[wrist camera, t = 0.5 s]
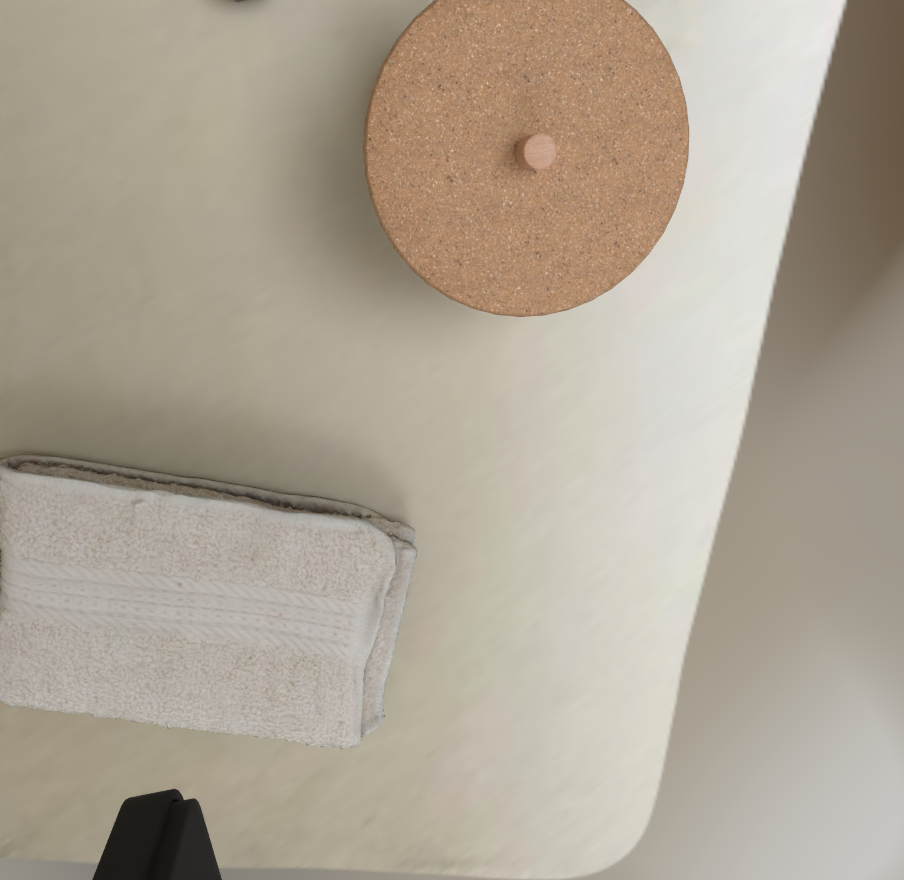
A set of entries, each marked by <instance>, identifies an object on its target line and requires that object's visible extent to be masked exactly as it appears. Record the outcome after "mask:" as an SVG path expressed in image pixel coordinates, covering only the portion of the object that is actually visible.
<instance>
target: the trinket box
mask: <svg viewBox="0 0 904 880" xmlns="http://www.w3.org/2000/svg"><path fill="white" fill-rule="evenodd" d="M363 150H364V163H365V175H366V179H367V184H368V188H369V193H370V197H371V201H372V204H373V206H374V209H375V211H376V214H377V216H378V219H379V221H380V224H381V226H382V228H383V229H384V231H385V233H386V235H387V236H388V238H389V240H390V241H391V243H392V245H393V247H394V248H395V249H396V251H397V252H398V253H399V254H400V256H401V257H402V258H403V259H404V261H405V262H406V263H407V264H408V266H409V267H410V268H411V269H412V270H413V271H414V272H415V273H417V274H418V275H419V276H420V277H421V278H422V279H423V280H424V281H425V282H427V283H428V284H429V285H430V286H432V287H433V288H435V289H436V290H438V291H439V292H441V293H442V294H444V295H445V296H447V297H449V298H450V299H452V300H454V301H457V302H459V303H461V304H464V305H466V306H468V307H470V308H473V309H477V310H480V311H484V312H488V313H492V314H496V315H506V316H516V317H525V316H541V315H548V314H552V313H556V312H561V311H565V310H569V309H571V308H574V307H576V306H579V305H582V304H584V303H587V302H589V301H591V300H593V299H595V298H596V297H598V296H600V295H602V294H603V293H605V292H607V291H608V290H610V289H612V288H613V287H614V286H616V285H617V284H618V283H619V282H621V281H622V280H623V279H624V278H626V277H627V276H628V275H629V274H631V273H632V272H633V271H634V269H635V268H636V267H637V266H638V265H639V264H640V263H641V262H642V261H643V260H644V259H645V258H646V257H647V255H648V254H649V253H650V252H651V250H652V249H653V247H654V246H655V244H656V243H657V241H658V240H659V239H660V237H661V236H662V234H663V233H664V231H665V229H666V227H667V225H668V223H669V221H670V219H671V217H672V215H673V213H674V211H675V208H676V205H677V202H678V199H679V196H680V193H681V190H682V187H683V184H684V178H685V173H686V168H687V162H688V150H689V125H688V115H687V106H686V101H685V97H684V94H683V90H682V86H681V82H680V78H679V76H678V74H677V71H676V69H675V67H674V64H673V62H672V60H671V57H670V55H669V53H668V51H667V50H666V48H665V47H664V45H663V43H662V42H661V40H660V39H659V37H658V36H657V34H656V32H655V31H654V30H653V28H652V27H651V26H650V25H649V24H648V23H647V22H646V21H645V19H644V18H643V17H642V16H641V15H640V14H639V13H638V12H637V10H635V9H634V8H633V7H632V6H630V5H629V4H628V3H627V2H625V1H624V0H435V1H434V2H432V3H431V4H430V5H429V6H428V7H427V8H426V9H424V10H423V11H422V12H421V13H420V14H419V15H418V16H416V17H415V18H414V20H413V21H412V22H411V23H410V24H409V26H408V27H407V28H406V29H405V31H404V32H403V33H402V34H401V35H400V37H399V38H398V39H397V40H396V42H395V44H394V46H393V47H392V49H391V51H390V52H389V54H388V56H387V57H386V59H385V61H384V63H383V64H382V67H381V69H380V72H379V74H378V77H377V79H376V82H375V84H374V87H373V89H372V92H371V97H370V101H369V105H368V110H367V114H366V118H365V131H364V144H363Z"/></svg>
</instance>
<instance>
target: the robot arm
mask: <svg viewBox="0 0 904 880" xmlns="http://www.w3.org/2000/svg"><path fill="white" fill-rule="evenodd" d="M93 880H222V879H221V875H220V872H219V868H218V865H217V862H216V858H215V855H214V851H213V848H212V845H211V841H210V838H209V834H208V831H207V827H206V824H205V821H204V817H203V814H202V810H201V807H200V805H199V802H198V801H197V800H196V799H188V800H184V799H183V797H182V795H181V793H180V792H179V791H178V790H176V789H171V790H166V791H161V792H156V793H151V794H146V795H141V796H136V797H130V798H128V799H126V800H125V801H124V803H123V804H122V806H121V808H120V811H119V813H118V816H117V818H116V821H115V823H114V826H113V829H112V831H111V834H110V836H109V839H108V841H107V844H106V846H105V849H104V852H103V854H102V857H101V859H100V862H99V864H98V867H97V869H96V872H95V874H94V877H93Z"/></svg>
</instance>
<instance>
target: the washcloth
mask: <svg viewBox="0 0 904 880" xmlns="http://www.w3.org/2000/svg"><path fill="white" fill-rule="evenodd" d="M415 538H416V534H415V530H414V529H413V528H412V527H410V526H409V525H403V524H401V523H399V522H390V521H387V519H386V518H383V517H382V516H381V515H380V514H378V513H376V512H374V511H372V510H369V509H367V508H364V507H361V506H357V505H355V504H349V503H346V502H338V501H334V500H329V499H322V498H318V497H309V496H300V495H285V494H281V493H276V492H271V491H266V490H261V489H256V488H252V487H247V486H241V485H231V484H228V483H223V482H217V481H211V480H205V479H200V478H183V477H178V476H172V475H166V474H160V473H153V472H149V471H142V470H137V469H130V468H123V467H117V466H113V465H106V464H101V463H93V462H87V461H81V460H74V459H67V458H60V457H51V456H38V455H17V456H11V457H7V458H4V459H1V460H0V548H1V549H2V558H1V566H0V571H1V578H0V585H1V591H0V701H2V702H4V703H6V704H7V705H8V706H11V707H15V706H17V705H23V706H27V707H29V708H35V709H37V710H39V709H40V710H47V711H54V710H57V711H59V712H63V711H65V712H66V713H67V714H73V713H74V714H76V713H91V714H92V715H93V717H107V718H115V719H125V720H130V721H132V722H143V723H151V724H155V725H161V726H164V727H167V728H169V729H170V728H171V726H173V727H183V728H191V729H192V730H206V731H210V730H211V731H214V732H216V733H229V734H247V735H252V736H255V737H263V738H273V739H277V738H284V739H285V740H286V741H292V742H296V743H305V744H306V745H312V744H313V745H314V746H320V747H324V746H332V747H334V748H337V747H338V748H340V749H342V750H343V749H344V748H346V747H355V746H359V744H360V741H361V737H364V736H366V735H368V734H369V733H371V732H372V731H374V730H375V729H376V728H377V727H379V726H380V724H381V723H382V721H383V719H384V718H385V715H383V711H384V710H383V703H382V700H383V695H384V689H385V683H386V679H387V674H388V672H389V666H390V664H391V659H392V655H393V652H394V646H395V642H396V638H397V634H398V629H399V624H400V620H401V616H402V612H403V609H404V604H405V599H406V595H407V590H408V586H409V581H410V577H411V573H412V570H413V565H414V561H415V559H416V555H417V549H416V547H414V543H415Z"/></svg>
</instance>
